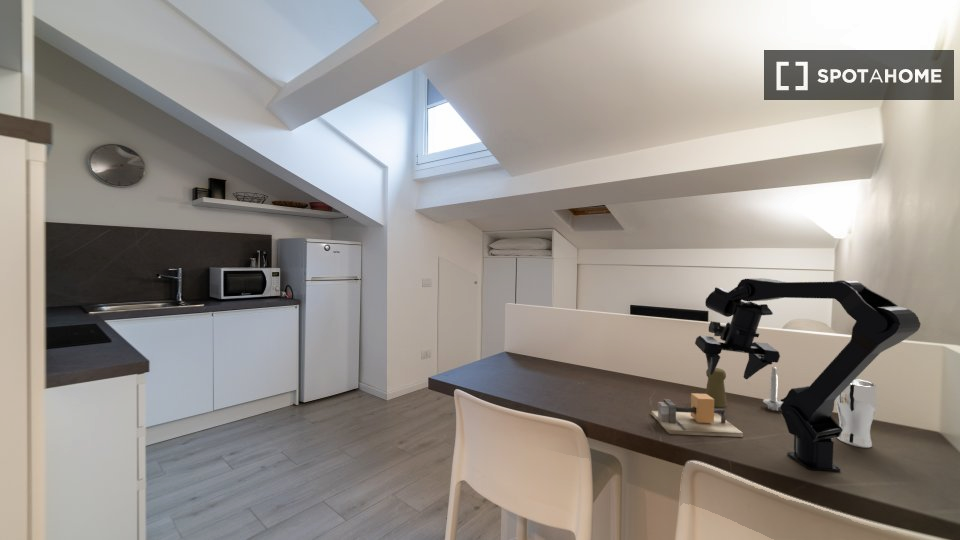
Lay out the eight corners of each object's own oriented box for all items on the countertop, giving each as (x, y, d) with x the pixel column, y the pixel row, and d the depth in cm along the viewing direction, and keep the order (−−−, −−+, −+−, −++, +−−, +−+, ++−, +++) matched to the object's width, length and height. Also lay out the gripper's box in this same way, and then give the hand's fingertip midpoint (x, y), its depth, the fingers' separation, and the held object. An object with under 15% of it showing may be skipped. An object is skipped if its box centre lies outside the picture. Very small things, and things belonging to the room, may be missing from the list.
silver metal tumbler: (832, 432, 95) (834, 375, 95) (871, 440, 91) (873, 381, 90) (836, 442, 90) (838, 382, 89) (877, 452, 85) (879, 388, 85)
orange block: (713, 422, 97) (714, 399, 97) (698, 422, 97) (698, 398, 97) (705, 416, 101) (706, 393, 101) (690, 415, 101) (691, 393, 101)
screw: (776, 413, 107) (759, 407, 111) (787, 411, 108) (769, 404, 113) (778, 369, 106) (760, 364, 111) (788, 367, 108) (770, 363, 112)
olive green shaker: (730, 408, 110) (731, 372, 110) (708, 406, 112) (709, 370, 111) (721, 400, 116) (722, 366, 116) (700, 398, 118) (701, 365, 117)
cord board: (743, 436, 92) (743, 413, 92) (669, 433, 94) (669, 410, 94) (716, 416, 104) (717, 395, 104) (651, 414, 106) (651, 393, 106)
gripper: (762, 316, 102) (745, 365, 107) (693, 308, 104) (680, 356, 108) (790, 334, 92) (770, 387, 96) (712, 325, 93) (697, 378, 98)
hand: (727, 376), depth 100 cm, fingers open, 9 cm apart
